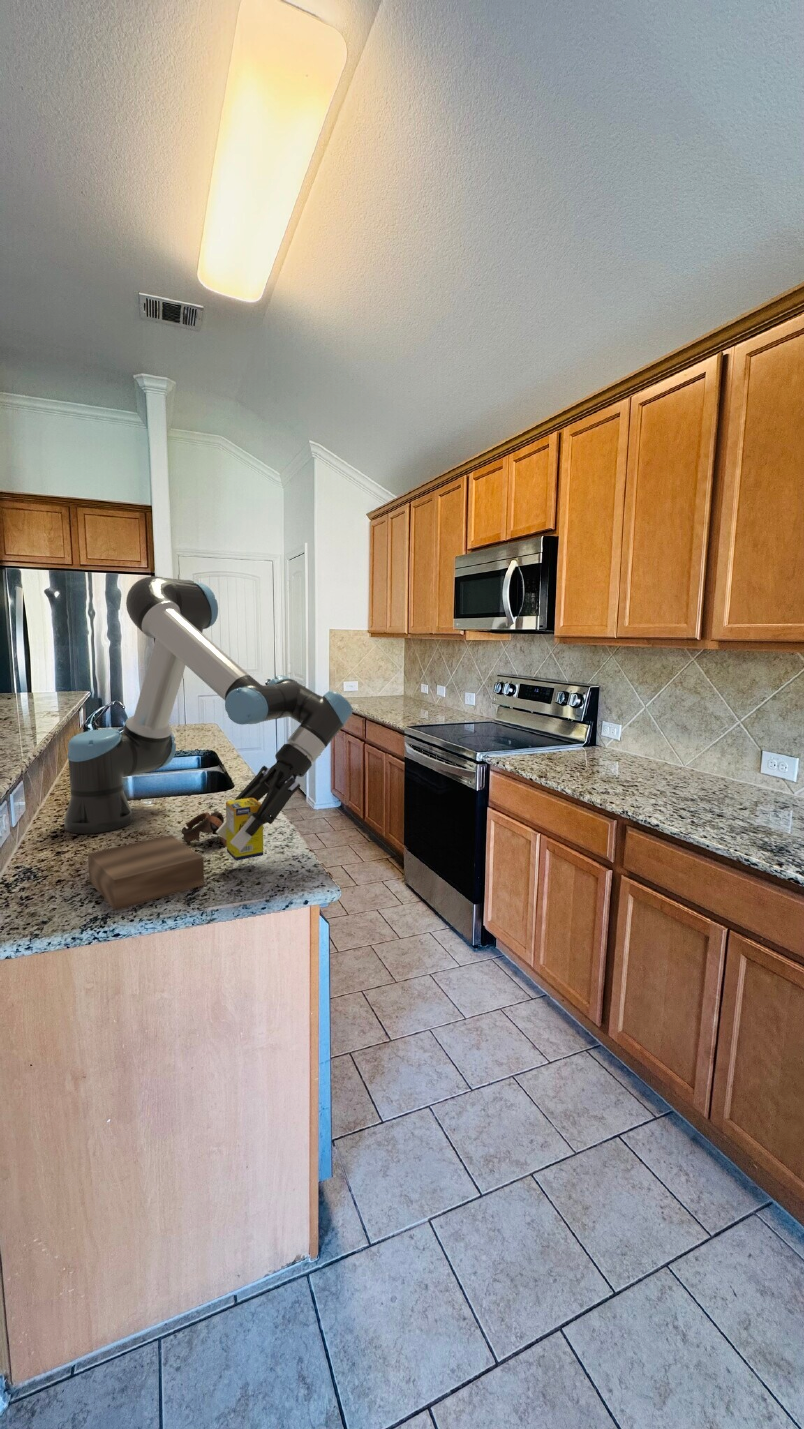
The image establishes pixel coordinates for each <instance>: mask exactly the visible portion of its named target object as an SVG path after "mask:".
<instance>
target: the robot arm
mask: <svg viewBox="0 0 804 1429" xmlns="http://www.w3.org/2000/svg"><path fill="white" fill-rule="evenodd" d="M125 604H126V605H125V606H126V611H127V613H128V616H129V618H130V620H131V621H132V623H133V624H134V625H135V626H136V628H138V630H140V632H142V633H143V634H144V635H145V636H146V637H148V638H150V639H151V638H152V639H154V642H153V645H152V646H153V647H152V648H151V649H152V650H151V654H150V657H149V659H148V660H149V661H148V664H147V667H146V672H145V675H144V679H143V682H142V686H141V689H140V693H139V696H138V700H137V704H136V707H135V712H134V713H133V714H134V715H132V716H130V717H129V716H128V718H126V720H125V723H124V726H123V731H122V732H120V730H119V729H116V728H100V729H92V730H87V731H84V732H83V731H82V732H81V733H77V734H75V735H74V736H73V737H71V738H70V739H69V741H68V744H67V759H68V769H69V770H68V773H69V790H70V799H69V803H68V806H67V809H66V812H65V815H64V820H63V823H64V830H65V831H66V832H69V833H72V834H82V835H83V834H86V835H88V834H98V833H99V834H101V833H107V832H111V831H115V830H119V829H121V828H124V827H126V826H128V825H130V824H132V822H133V811H132V809H131V806H130V803H129V802H128V799H127V797H126V794H125V792H124V778H127V777H131V776H132V777H133V776H135V775H140V774H144V773H147V772H149V773H151V772H155V771H158V770H160V769H161V768H164V767H166V766H167V765H169V764H170V763H171V762H172V760H173V759H174V756H175V754H176V751H177V744H176V743H175V741H176V739H175V738H176V737H175V736H174V733H173V729H172V727H171V725H169V723H170V719H171V715H172V712H173V708H174V705H175V702H176V699H177V696H178V692H179V689H180V685H181V682H182V678H183V675H184V671H185V668H187V667H188V669H189V670H190V671H192V673H194V674H195V675H196V676H197V677H198V678H199V679H200V680H202V682H204V683H205V684H206V685H207V686H208V687H209V688H210V689H212V690H213V692H215V693H216V694H217V695H218V696H219V697H220V698H221V699H222V700H223V701H224V710H225V712H226V714H227V715H228V716H227V717H228V718H229V719H230V720H231V722H232V723H235V724H236V725H242V726H243V725H255V724H259V723H263V722H267V721H271V720H278V719H283V718H291V719H292V720H295V721H296V722H298V723H299V726H298V727H297V728H296V729H295V730H294V731H293V732H292V734H291V735H290V736H289V737H288V739H287V743H283V745H282V746H281V748H279V749H278V750H277V752H276V753H275V757H274V758H275V760H276V762H275V763H274V764H273V765H271V767H267V766H266V765H263V766H261V768H260V769H259V771H258V773H257V774H256V775H255V776H254V777H253V779H251V781H250V782H249V783H248V784H247V785H246V786H245V787H244V789H243V790H242V791H241V792H240V793H239V794H238V795H237V796H236V798H234V800H239V799H246V798H254V799H256V800H257V801H258V802H260V800H261V799H263V797H264V799H263V801H262V802H261V806H260V807H259V809H258V811H257V813H253V814H252V815H253V816H254V817H255V818H254V817H253V816H251V817H250V818H249V819H248V821H247V822H246V823H245V824H244V826H243V827H242V828H241V829H240V830H239V832H238V833H237V834H236V835H235V837H234V838H233V839H232V840H231V842H230V843H231V844H232V845H234V846H235V847H236V848H238V849H239V850H240V851H241V850H242V849H243V847H244V846H245V845H246V844H247V842H248V841H249V840H250V839H251V837H252V836H253V835H254V834H255V833H256V832H257V830H258V829H259V828H260V827H261V825H262V824H263V825H265V824H269V825H271V824H273V822H274V821H275V820H276V819H277V817H278V816H279V814H280V813H281V811H282V810H283V808H285V806H286V805H287V803H288V802H289V800H291V798H292V797H293V795H294V794H295V793H296V792H297V791H298V790H299V789H300V788H301V784H300V783H299V782H298V781H297V780H296V779H297V777H298V778H299V777H300V778H302V777H304V776H305V775H306V774H307V772H308V771H309V770H310V769H311V767H312V766H313V765H312V763H315V762H316V760H317V759H318V758H319V757H320V756H321V755H322V753H323V752H324V751H325V749H326V748H327V747H328V745H329V744H330V743H331V741H333V739H334V738H335V736H337V734H338V733H339V731H341V729H342V728H343V727H345V724H346V722H348V720H349V718H350V717H351V716H352V714H353V707H352V704H351V703H350V702H349V701H348V699H346V698H345V696H344V695H342V694H340V693H338V692H336V691H333V690H328V691H327V692H326V693H325V694H323V696H322V695H320V694H317V693H315V691H313V690H311V689H309V688H308V687H306V686H304V685H302V684H300V683H299V682H298V681H297V680H295V679H292V678H290V677H287V676H286V675H276V676H275V678H272V679H270V681H268V683H267V685H266V684H265V685H262V684H260V682H259V681H257V680H256V679H255V678H254V677H252V675H250V674H249V673H248V672H247V671H245V669H243V668H242V667H241V666H240V665H239V664H237V663H236V661H234V660H233V659H232V658H231V657H230V656H228V654H226V653H225V652H224V651H223V650H222V649H221V648H220V647H218V646H217V645H216V644H215V643H214V642H213V641H212V640H211V639H209V638H208V637H207V636H206V635H205V634H203V631H204V630H207V629H209V628H210V627H212V626H213V625H214V624H216V623H215V622H217V619H218V614H219V606H218V605H219V604H218V601H217V598H216V596H215V593H214V592H213V591H212V589H211V588H210V587H209V585H208V586H207V585H206V584H204V583H203V582H200V581H194V580H193V579H179V578H171V577H163V576H155V575H153V576H146V577H143V578H141V579H139V580H137V581H136V582H135V583H133V585H132V586H131V587H130V588H129V590H128V593H127V595H126V601H125ZM226 830H227V829H226V819H224V823H223V824H222V825H221V826H220V828H219V829H218V830H217V831H216V833H217V834H219V835H218V836H220V837H221V838H222V837H223V838H224V839H225V840H227V832H226ZM217 834H216V835H217Z"/></svg>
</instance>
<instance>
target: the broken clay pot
mask: <svg viewBox="0 0 804 1429" xmlns="http://www.w3.org/2000/svg"><path fill="white" fill-rule="evenodd" d="M224 821H225V819H224V815H223V814H222V813H221V811H220V812H219V811H214V812H212V813H209V812H208V811H207V812H202V813H200V814H197V816H195V817H193V818H192V819H190V820H189V821H188V822H187V823H186V824H185V826H186V827H187V828H186V827H185V826H184V827H182V829H181V831H180V833H181V834H182V835H183V842H184V843H187V844H190V843H191V842H192V841H197V842H200V835H201V833H202V834H211V833H212V835H217V836H220V835H219V834H217V833H216V831H217V830H218V829H219V828H220V826H221V825H222V824H223V823H224ZM220 842H221V843H222V845H223V847H224V848H225V847H226V848H227V840H225V839H224V838H223V837H221V838H220Z"/></svg>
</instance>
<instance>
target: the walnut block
mask: <svg viewBox="0 0 804 1429" xmlns="http://www.w3.org/2000/svg"><path fill="white" fill-rule="evenodd" d="M87 861H88V862H87V863H88V877H89V878H88V880H89V883H90V884H91V885H92V886H93V887H94V888H95V889H96V891H97V892H99V894H100V895H101V896H102V897H103V899H104V900H105V901H106V902H107V903H108V904H109V906H111V907H112V909H113V910H115V912H117V911H120V910H123V909H126V908H130V907H133V906H137V905H140V904H143V903H147V902H150V901H154V900H158V899H161V898H164V897H167V896H171V895H174V894H177V893H178V894H179V893H182V892H186V891H187V890H191V889H195V888H199V887H202V886H204V885H205V872H204V869H205V868H204V864H205V863H204V856H202V855H201V854H199V853H198V852H197V851H195V850H193V849H192V848H190V847H189V846H188V845H186V844H185V843H183V842H182V841H180V840H179V839H177V838H176V837H174V835H171V834H170V835H169V834H168V835H165V836H161V837H157V838H152V839H147V840H142V841H138V842H133V843H129V844H126V845H121V846H120V845H119V846H116V847H112V848H106V849H102V850H98V851H94V852H93V851H92V852H88V853H87Z"/></svg>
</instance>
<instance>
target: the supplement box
mask: <svg viewBox="0 0 804 1429" xmlns="http://www.w3.org/2000/svg"><path fill="white" fill-rule="evenodd" d="M261 804H262V802H260V801H257V800H256V799H254V798H246V799H239V800H235V799H233V800H227V801H226V802H225V820H226V829H227V830H226V832H227V846H226V852H227V854H229V856H230V857H232V859H233V860H234V861H242V860H247V859H251V858H252V859H253V858H256V857H262V856H263V855H264V824H262V825H261V827H260V828H259V829H258V830H257V832H256V833H255V834H254V835H253V836H252V837H251V839H250V840H249V841H248V842H247V844H246V845H245V846H244V847H243V849H242V850H241V851H240V850H239V849H238V848H236V847H235V846H234V845H232V844H231V843H230V842H231V840H232V839H233V838H234V837H235V835H236V834H237V833H238V832H239V830H240V829H241V828H242V827H243V826H244V824H245V823H246V822H247V821H248V819H249V818H250V817H251V816H253V815H252V814H253V813H257V811H258V809H259V807H260V806H261ZM253 817H254V816H253ZM254 818H255V817H254Z"/></svg>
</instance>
